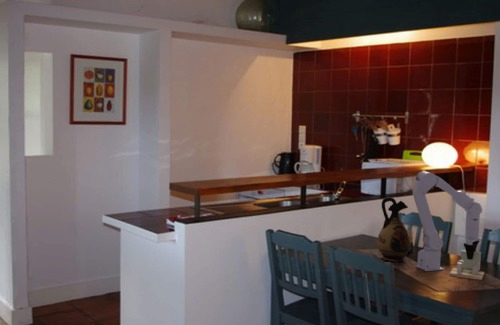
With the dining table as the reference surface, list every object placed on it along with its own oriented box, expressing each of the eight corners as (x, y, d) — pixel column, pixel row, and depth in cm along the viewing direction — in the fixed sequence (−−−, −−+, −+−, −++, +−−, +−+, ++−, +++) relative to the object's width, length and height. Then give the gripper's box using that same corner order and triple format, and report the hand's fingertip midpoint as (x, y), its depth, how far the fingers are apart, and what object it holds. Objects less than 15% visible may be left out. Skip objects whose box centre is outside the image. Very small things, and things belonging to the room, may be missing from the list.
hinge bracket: (481, 279, 246) (482, 268, 246) (449, 275, 252) (450, 264, 252) (484, 274, 255) (484, 262, 255) (453, 270, 261) (453, 259, 261)
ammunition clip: (393, 253, 291) (394, 229, 290) (391, 252, 293) (392, 228, 292) (413, 252, 293) (414, 229, 292) (411, 251, 295) (412, 228, 294)
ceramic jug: (406, 256, 285) (409, 195, 283) (412, 264, 270) (415, 200, 267) (371, 254, 287) (373, 194, 284) (375, 262, 272) (377, 199, 269)
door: (479, 270, 261) (480, 253, 260) (460, 268, 265) (461, 250, 264) (480, 269, 264) (480, 251, 263) (461, 266, 267) (462, 249, 267)
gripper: (480, 231, 254) (478, 262, 255) (483, 226, 267) (482, 255, 268) (463, 230, 257) (461, 260, 258) (467, 224, 270) (465, 253, 271)
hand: (470, 257), depth 263 cm, fingers open, 7 cm apart
